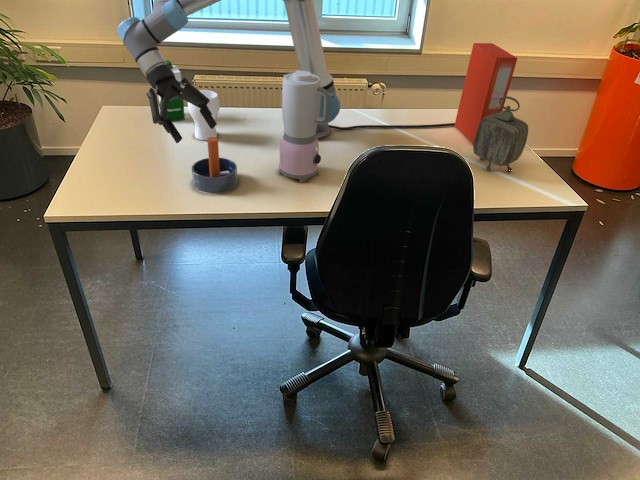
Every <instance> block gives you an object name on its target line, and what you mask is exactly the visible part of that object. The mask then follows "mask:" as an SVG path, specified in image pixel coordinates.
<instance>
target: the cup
mask: <svg viewBox="0 0 640 480" xmlns="http://www.w3.org/2000/svg"><path fill="white" fill-rule="evenodd" d="M198 90H199V91H200V92H201V93H202V94H204V95H205V96H206V97H207V98H208V99H209V100H210V101H209V103H208V104H207V107H208V108H209V110H210V112H211V113H212V115H211V116H212V117H213V119H214V120H215V121H216V119H217V117H218V115H219V112H220V105H221V104H220V100H219V96H218V93H217V92H215V91H213V90H208V89H198ZM204 101H205V100H204ZM187 109H188V111H189V114H190V116H191V118H192V119H193V122H194V125H195V128H194V137H195V138H196V139H197V140H200V141H207V139H208V138H210V137H216V138H217V137H218V132H217V128H216V126H215V127H214V128H213V129H211V128H210V127H209V125H208V124H207V122H206V121H205V119H204V117H203V116H202V114H201V113H200V111H199V110H200V108H198V107H197V106H195V105H193V104H191V103H189V102H187Z"/></svg>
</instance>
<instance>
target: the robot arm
mask: <svg viewBox="0 0 640 480" xmlns="http://www.w3.org/2000/svg"><path fill="white" fill-rule="evenodd" d="M220 1H222V0H154V1H153V3H152V12H151V13H150V14H148V15H147V16H146V17H144V18H143V19H140V18H139V17H137V16H130V17H128V18H126V19H124V20H122V21H121V22H120V23H119V24H118V26H117V28H116V31H117V35H118V36H119V38H120V39H121V41H122V44H123V45H124V47H125V48H126V50H127V51H128V52H129V54H130V55H131V58H132V59H133V60H134V61H135V63H136V65H137V66H138V68H139V69H140V71H141V73H142V74H143V75H144V76H145V78H146V80H147V82H148V84H149V85H150V86H151V87H150V88H149V89H148V90H147V92H146V93H145V94H146V97H147V98H148V100H149V101H148V102H149V106H150V112H151V119H152V123H153V124H155V125H156V124H158V125H159V126H162V127H163V129H165V130H164V131H166V133H167V134H169V135H170V136H171V137H172V138H173V140H174V142H175V143H176V144H179V143H180V142H181V141H182V140H183V138H184V137H182V135H181V133H180V132H179V130H178V129H177V127H176V125H175V124H174V123H173V121H171V120H170V119H168V120H166V119H167V110H168V101H171V100H173V99H177V98H179V99H183V101H184V102H187V103H188V102H189V103H191V104H193V105H195V106H197V107H198V108H200V110H199V111H200V113H201V114H202V116H203V117H204V119H205V121H206V122H207V124H208V125H209V127H210V128H211V129H213V128H214V127H215V128H216V126H217V125H218V123H217V122H216V120H214V119H213V117H212V116H211V115H212V113H211V112H210V110H209V108H208V107H207V104H208V103H209V101H210V100H209V99H208V98H207V97H206V96H205V95H204V94H202V93H201V92H200V91H199V90H200V89H197V87H195V86H194V85H193V84H192V83H190V81H189V80H188V79H187V78H186V77H183V78H181V81H177V80H176V78H175V74H174V73H173V71H172V70H171V68H170V66H169V65H167V62H166V58H165V57H164V55H163V54H162V52H161V51H160V49H159V48H158V45H159V44H161V43H162V42H164V41H165V40H166V39H168V38H170V37H171V36H173V35H174V34H175V33H177V32H178V31H180V30H182V29H183V28H184V26H186V25H187V24H188V23H189V18H188V16H190V15H192V14H195V13H197V12H199V11H201V10H203V9H205V8H208V7H210V6H212V5H214V4H217V3H219V2H220ZM281 1H282V2H283V3H284V8H285V12H286V16H287V17H286V18H287V21H288V27H289V30H290V34H291V39H292V43H293V44H292V45H293V49H294V53H295V57H296V61H297V67H298V69H297V70H295V72H296V71H307V72H310V73H311V74H314V75H316V76H318V77H319V78H320V80H321V88H323V89H325V90H327V91H328V92H329V94H330V112H329V119H328V121H327V122H326V123H317V127H316V133H315V134H316V138H317V140H321V139H325V138H326V137H328V136H329V134H330V129H334V130H339V131H349V130H354V129H413V128H414V129H420V128H421V129H422V128H439V127H440V128H441V127H452V126H453V127H455V126H454V125H455V122H450V123H449V122H448V123H435V124H402V125H401V124H399V125H398V124H397V125H396V124H364V125H363V124H360V125H359V124H358V125H351V126H347V127H346V126H345V127H344V126H337V125H330V124H329V123H331V122H333V121H334V120H336V118H337V117H338V115H339V113H340V111H341V101H340V99H339V97H338V95H337V92H336V88H335V83H334V82H335V81H334V77H333V75H331V74H330V73H328V71H327V65H326V59H325V55H324V54H325V53H324V49H323V44H322V37H321V33H320V28H319V22H318V17H317V12H316V6H315V1H314V0H281ZM181 92H182V93H181ZM158 95H159V96H160V97H161V102H160V103H161V108H160V107H159V102H158ZM204 100H205V101H204ZM324 100H325V98H324V96H323V95H321V101H320V113H319V117H323V114H324Z"/></svg>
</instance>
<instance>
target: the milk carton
mask: <svg viewBox="0 0 640 480" xmlns="http://www.w3.org/2000/svg"><path fill="white" fill-rule="evenodd" d="M165 60H166V59H165ZM166 62H167V65H169V66H170V68H171V70H172V71H173V73H174V74H175V78H176V80H177V81H181V80H182V72H181V71H180V69H179V68H178V67H177V66H176V65H172V60H166ZM181 93H182V92H181ZM157 101H158V107H159V109H160V108H161V103H160V102H161V97H160V96H159V95H157ZM184 102H185V100H184V99H179V98H177V99H173V100H171V101H168V110H167V119H166V120H168V119H170V120H171V121H172V122H173V121H180V120H181V121H182V120H185V103H184Z"/></svg>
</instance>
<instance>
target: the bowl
mask: <svg viewBox="0 0 640 480" xmlns="http://www.w3.org/2000/svg"><path fill="white" fill-rule="evenodd" d="M219 166H220V172H223V171H229V172H230V174H225V175H220V176H221V177H210V169H209V157H204V158H201V159H199V160H197V161H195V162H194V163H193V164H192V165H191V176H192V185H193V187H194V188H195V189H197V190H198V191H201V192H204V193H207V194H220V193H224V192H225V193H226V192H228V191H231V190H232V189H234V188H235V187H236V186H237V184H238V183H239V182H238V165H237V163H236V162H235V161H233V160H231V159H229V158H226V157H219Z"/></svg>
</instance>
